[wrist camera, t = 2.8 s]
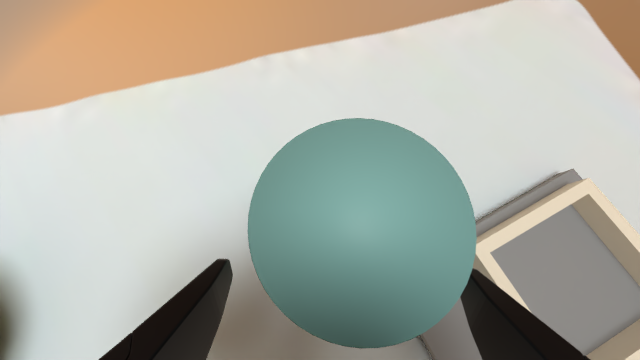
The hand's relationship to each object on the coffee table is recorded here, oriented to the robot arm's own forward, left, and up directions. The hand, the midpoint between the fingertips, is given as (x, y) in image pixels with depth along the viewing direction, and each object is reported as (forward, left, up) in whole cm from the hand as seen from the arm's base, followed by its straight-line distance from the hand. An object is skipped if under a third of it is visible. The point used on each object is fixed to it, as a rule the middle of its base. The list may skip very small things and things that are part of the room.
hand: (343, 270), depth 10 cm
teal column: (+1, +1, -9) cm, 9 cm away
